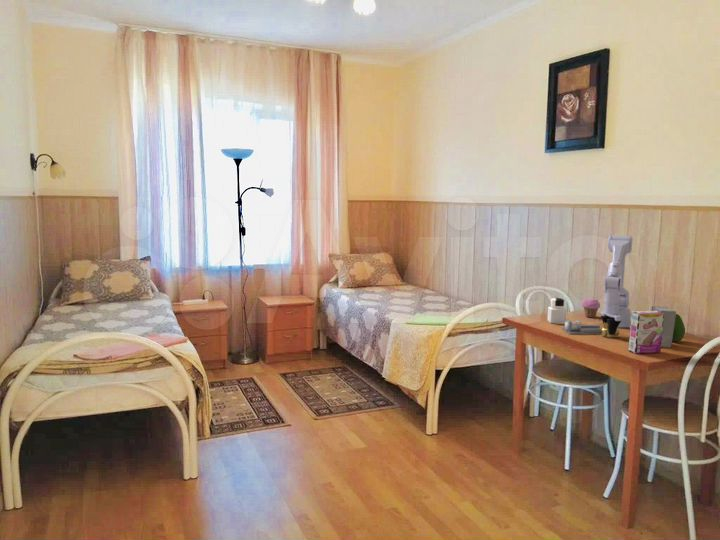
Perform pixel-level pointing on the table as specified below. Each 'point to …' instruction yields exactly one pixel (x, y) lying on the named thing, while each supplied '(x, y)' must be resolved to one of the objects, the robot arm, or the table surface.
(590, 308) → the cupcake
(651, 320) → the candy bar box
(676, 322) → the avocado
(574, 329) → the grey piece
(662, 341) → the skincare box
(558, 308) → the medicine bottle
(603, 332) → the valve
